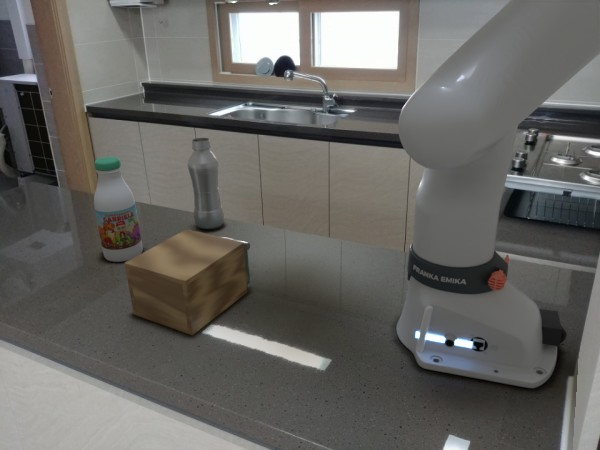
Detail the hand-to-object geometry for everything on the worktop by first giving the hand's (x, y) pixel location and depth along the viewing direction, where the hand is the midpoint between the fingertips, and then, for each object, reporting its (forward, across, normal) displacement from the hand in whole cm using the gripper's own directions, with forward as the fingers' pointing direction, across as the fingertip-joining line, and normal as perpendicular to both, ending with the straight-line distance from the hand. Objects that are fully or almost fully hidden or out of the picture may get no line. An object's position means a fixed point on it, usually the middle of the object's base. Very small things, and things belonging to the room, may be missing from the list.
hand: (253, 2), depth 77 cm
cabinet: (+47, -9, +11) cm, 49 cm away
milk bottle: (+45, -3, +37) cm, 58 cm away
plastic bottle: (+44, +17, +31) cm, 56 cm away
